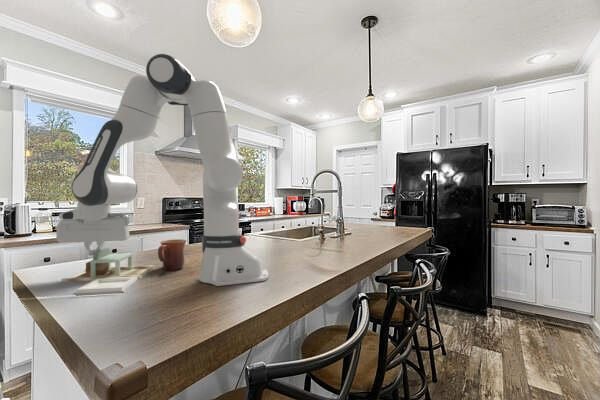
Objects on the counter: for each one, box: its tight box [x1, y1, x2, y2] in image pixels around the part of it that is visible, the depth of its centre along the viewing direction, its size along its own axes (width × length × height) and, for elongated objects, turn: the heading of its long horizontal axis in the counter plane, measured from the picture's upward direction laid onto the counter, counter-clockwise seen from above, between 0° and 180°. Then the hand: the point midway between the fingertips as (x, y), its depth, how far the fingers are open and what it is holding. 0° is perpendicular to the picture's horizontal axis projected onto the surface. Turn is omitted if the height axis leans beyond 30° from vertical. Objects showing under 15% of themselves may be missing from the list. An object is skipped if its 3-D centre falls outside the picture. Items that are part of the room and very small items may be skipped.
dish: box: [75, 276, 138, 297], centre depth 80 cm, size 11×11×2 cm
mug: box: [157, 238, 187, 272], centre depth 101 cm, size 12×9×10 cm
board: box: [60, 264, 156, 283], centre depth 93 cm, size 22×14×1 cm, turn 101°
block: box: [85, 260, 108, 276], centre depth 92 cm, size 4×4×4 cm
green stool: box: [90, 247, 133, 277], centre depth 93 cm, size 8×11×8 cm
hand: (94, 255), depth 92 cm, fingers closed
